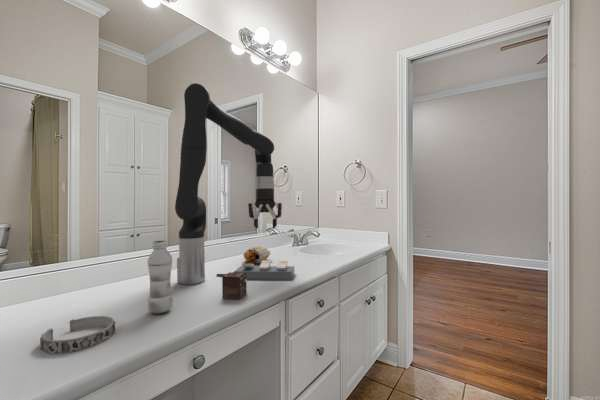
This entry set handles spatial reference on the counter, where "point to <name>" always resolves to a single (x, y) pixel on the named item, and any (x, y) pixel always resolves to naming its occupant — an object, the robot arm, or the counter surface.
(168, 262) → the plastic bottle
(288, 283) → the counter surface
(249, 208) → the robot arm
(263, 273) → the power strip
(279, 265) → the rocker right
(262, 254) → the nautilus
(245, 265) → the rocker left
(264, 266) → the rocker middle
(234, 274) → the box
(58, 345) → the bracelet
